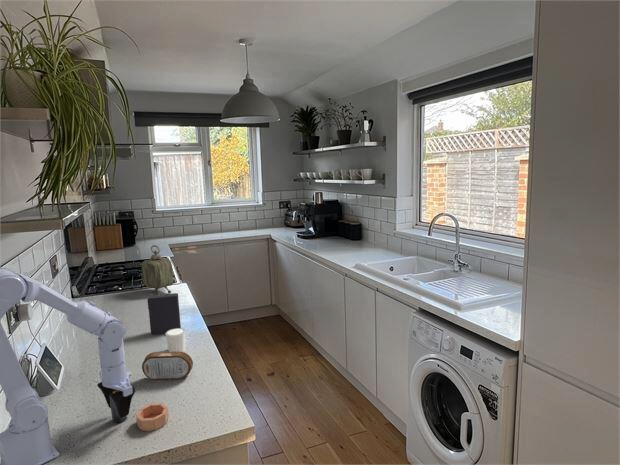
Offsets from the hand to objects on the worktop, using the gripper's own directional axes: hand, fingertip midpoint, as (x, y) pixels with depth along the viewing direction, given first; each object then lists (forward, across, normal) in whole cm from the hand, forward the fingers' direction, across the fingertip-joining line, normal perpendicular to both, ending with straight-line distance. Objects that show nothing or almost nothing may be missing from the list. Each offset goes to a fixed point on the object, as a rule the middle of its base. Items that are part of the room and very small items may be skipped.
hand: (118, 410), depth 106 cm
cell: (+2, 0, 0) cm, 2 cm away
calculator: (+3, +42, -37) cm, 56 cm away
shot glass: (+3, +24, -31) cm, 39 cm away
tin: (+3, +9, -19) cm, 21 cm away
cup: (+2, -8, -5) cm, 10 cm away
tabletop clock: (+3, +90, -60) cm, 108 cm away
